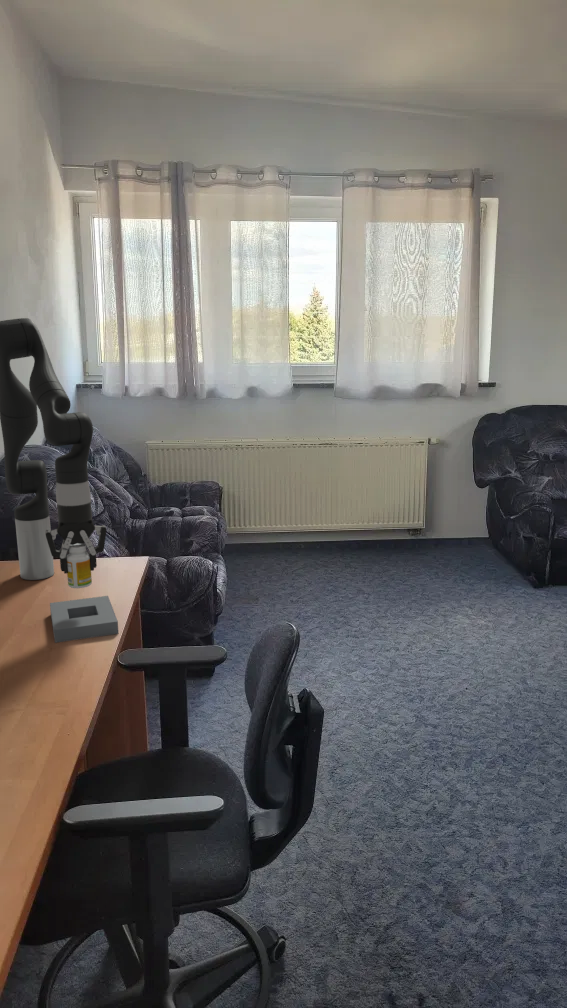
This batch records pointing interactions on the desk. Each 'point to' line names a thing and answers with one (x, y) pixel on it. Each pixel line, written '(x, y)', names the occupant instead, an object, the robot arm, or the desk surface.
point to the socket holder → (83, 619)
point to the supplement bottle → (78, 566)
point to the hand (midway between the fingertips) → (79, 570)
